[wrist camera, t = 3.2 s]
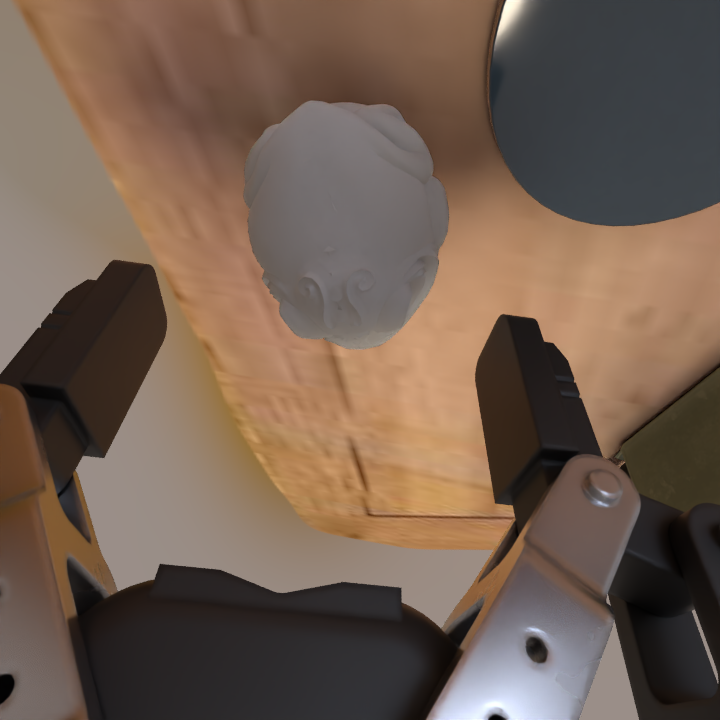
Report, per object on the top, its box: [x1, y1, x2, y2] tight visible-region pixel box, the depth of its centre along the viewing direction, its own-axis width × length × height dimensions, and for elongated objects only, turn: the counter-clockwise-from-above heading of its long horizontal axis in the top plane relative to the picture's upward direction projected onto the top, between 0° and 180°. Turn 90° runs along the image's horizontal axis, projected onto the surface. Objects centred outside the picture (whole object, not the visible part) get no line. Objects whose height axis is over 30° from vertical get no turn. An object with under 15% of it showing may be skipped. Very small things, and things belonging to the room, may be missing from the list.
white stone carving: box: [243, 101, 449, 349], centre depth 13 cm, size 6×7×7 cm
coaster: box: [487, 0, 720, 226], centre depth 12 cm, size 11×11×1 cm
